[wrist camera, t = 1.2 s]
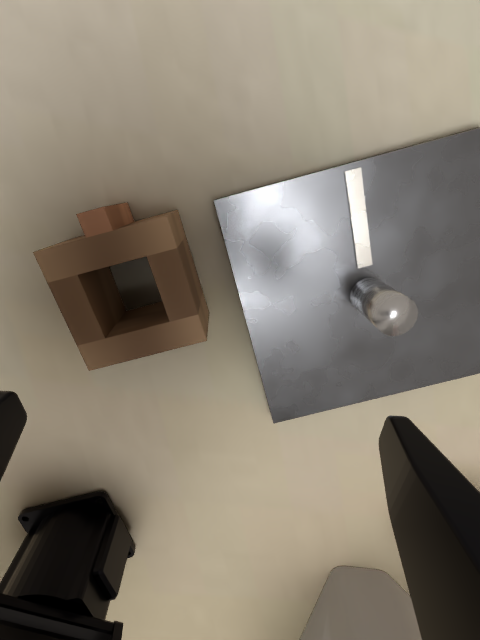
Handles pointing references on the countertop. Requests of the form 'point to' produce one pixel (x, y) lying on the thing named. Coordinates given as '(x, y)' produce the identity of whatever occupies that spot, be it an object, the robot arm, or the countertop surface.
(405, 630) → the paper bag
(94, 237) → the wooden cubby with handle
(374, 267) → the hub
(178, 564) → the countertop surface
